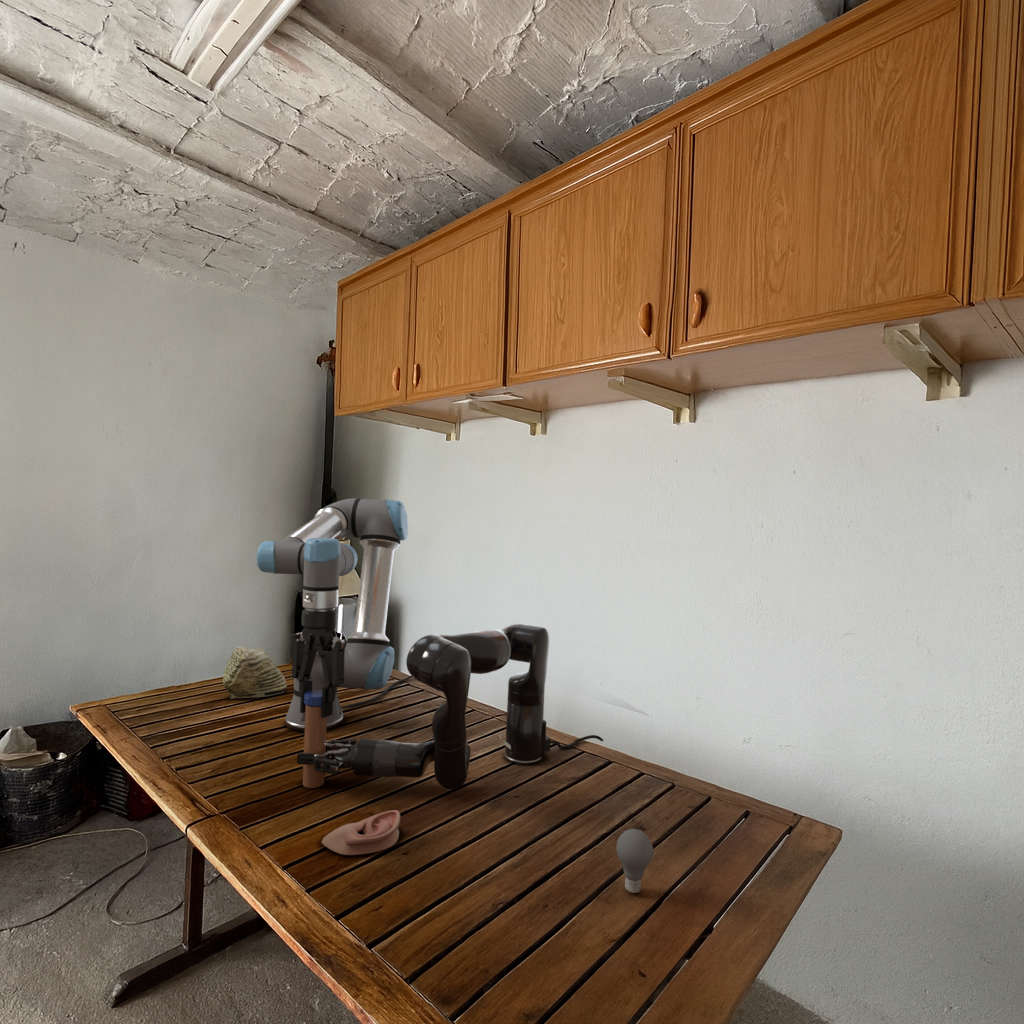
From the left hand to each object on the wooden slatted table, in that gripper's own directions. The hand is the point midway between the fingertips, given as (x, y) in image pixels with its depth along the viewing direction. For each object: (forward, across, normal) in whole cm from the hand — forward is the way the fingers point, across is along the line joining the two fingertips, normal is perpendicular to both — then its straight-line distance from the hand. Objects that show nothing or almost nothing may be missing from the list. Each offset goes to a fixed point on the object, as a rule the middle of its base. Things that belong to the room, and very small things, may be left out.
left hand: (316, 713), depth 140 cm
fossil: (+16, -58, +38) cm, 71 cm away
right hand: (+9, -2, -1) cm, 9 cm away
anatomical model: (+16, +24, -14) cm, 31 cm away
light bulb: (+16, +72, -5) cm, 74 cm away
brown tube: (+16, 0, 0) cm, 16 cm away
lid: (-4, 0, 0) cm, 4 cm away
